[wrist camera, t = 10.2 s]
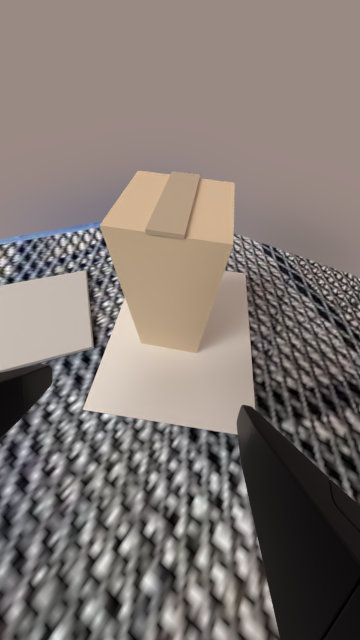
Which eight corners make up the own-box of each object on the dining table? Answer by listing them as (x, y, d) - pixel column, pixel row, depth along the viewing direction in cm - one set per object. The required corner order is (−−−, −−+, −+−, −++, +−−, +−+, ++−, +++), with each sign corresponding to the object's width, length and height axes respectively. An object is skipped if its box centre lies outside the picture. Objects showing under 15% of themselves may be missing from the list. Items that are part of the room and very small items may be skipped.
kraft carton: (196, 353, 17) (234, 242, 7) (141, 343, 18) (98, 222, 7) (202, 307, 20) (235, 179, 10) (154, 299, 21) (138, 166, 10)
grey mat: (93, 348, 18) (92, 346, 18) (-35, 382, 16) (-40, 381, 16) (87, 273, 24) (85, 270, 23) (-10, 291, 21) (-14, 288, 21)
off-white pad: (252, 437, 15) (257, 437, 14) (87, 410, 15) (83, 409, 14) (242, 279, 24) (245, 273, 23) (140, 265, 25) (139, 259, 24)
